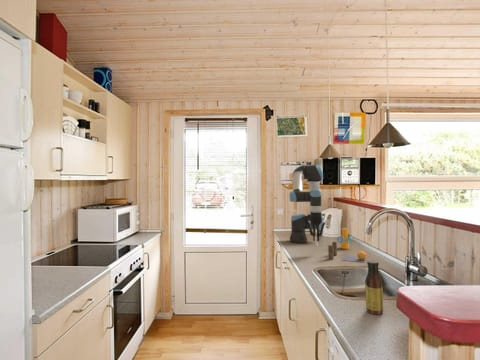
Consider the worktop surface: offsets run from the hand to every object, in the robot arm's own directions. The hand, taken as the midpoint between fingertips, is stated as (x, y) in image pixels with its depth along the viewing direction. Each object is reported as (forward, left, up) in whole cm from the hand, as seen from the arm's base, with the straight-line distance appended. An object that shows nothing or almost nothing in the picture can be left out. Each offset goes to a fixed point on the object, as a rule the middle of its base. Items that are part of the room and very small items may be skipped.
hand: (316, 245), depth 216 cm
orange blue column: (-30, +14, -7) cm, 34 cm away
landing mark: (+1, +25, -7) cm, 26 cm away
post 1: (+7, +11, -7) cm, 15 cm away
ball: (+1, +30, -4) cm, 30 cm away
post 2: (-6, +11, -7) cm, 14 cm away
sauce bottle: (+84, +43, -7) cm, 94 cm away
